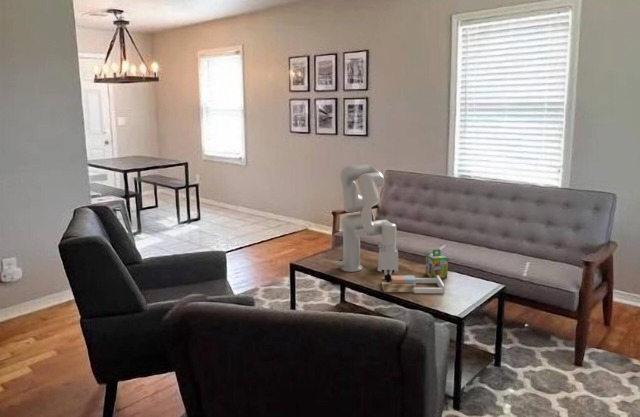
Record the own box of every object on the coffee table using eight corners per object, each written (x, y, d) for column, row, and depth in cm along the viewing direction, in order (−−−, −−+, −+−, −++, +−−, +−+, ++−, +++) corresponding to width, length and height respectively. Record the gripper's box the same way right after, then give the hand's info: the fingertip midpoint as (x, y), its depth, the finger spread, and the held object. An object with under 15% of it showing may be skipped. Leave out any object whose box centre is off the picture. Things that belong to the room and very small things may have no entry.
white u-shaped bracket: (414, 293, 252) (414, 285, 251) (409, 282, 267) (409, 275, 266) (444, 293, 252) (444, 285, 251) (438, 282, 266) (438, 275, 265)
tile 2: (404, 286, 256) (404, 279, 255) (402, 281, 262) (402, 275, 261) (415, 286, 256) (416, 279, 255) (414, 281, 262) (414, 275, 261)
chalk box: (432, 279, 271) (433, 253, 268) (424, 274, 280) (425, 248, 277) (447, 277, 273) (449, 251, 270) (439, 272, 282) (440, 247, 279)
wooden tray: (383, 291, 254) (383, 285, 253) (381, 283, 266) (381, 277, 265) (413, 291, 253) (413, 285, 253) (410, 283, 265) (410, 277, 264)
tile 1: (392, 286, 256) (392, 279, 255) (390, 281, 262) (391, 275, 261) (404, 286, 256) (404, 279, 255) (402, 281, 262) (402, 275, 261)
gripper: (374, 249, 252) (373, 284, 256) (404, 249, 251) (403, 284, 255) (373, 245, 259) (372, 279, 263) (402, 245, 258) (401, 279, 262)
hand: (387, 281), depth 259 cm, fingers closed
